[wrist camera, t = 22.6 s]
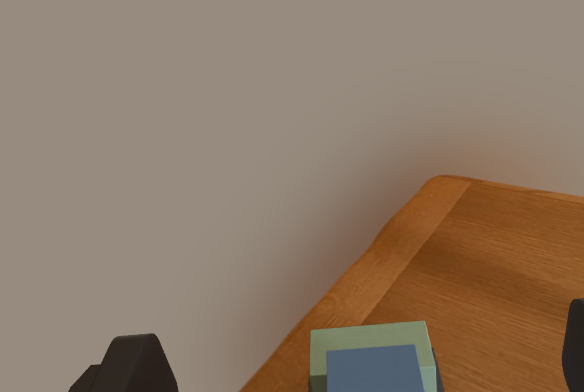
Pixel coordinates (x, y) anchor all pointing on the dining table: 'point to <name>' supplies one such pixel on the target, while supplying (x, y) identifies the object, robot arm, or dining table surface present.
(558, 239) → the dining table surface
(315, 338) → the seat frame
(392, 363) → the blue rectangular block
